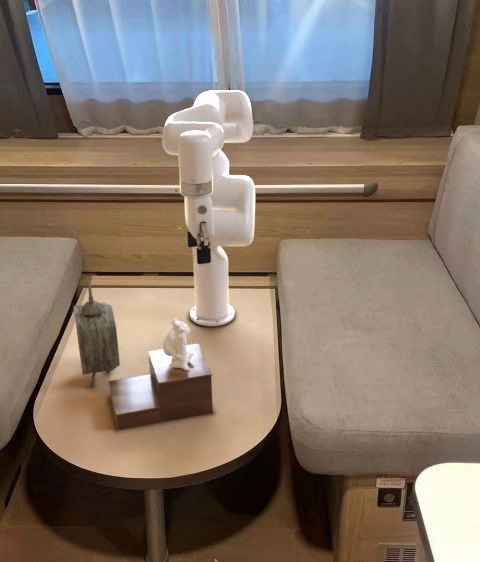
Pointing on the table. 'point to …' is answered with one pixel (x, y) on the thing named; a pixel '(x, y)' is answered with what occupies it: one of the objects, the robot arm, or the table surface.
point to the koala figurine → (177, 345)
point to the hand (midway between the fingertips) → (199, 254)
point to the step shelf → (163, 391)
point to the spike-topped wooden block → (96, 337)
